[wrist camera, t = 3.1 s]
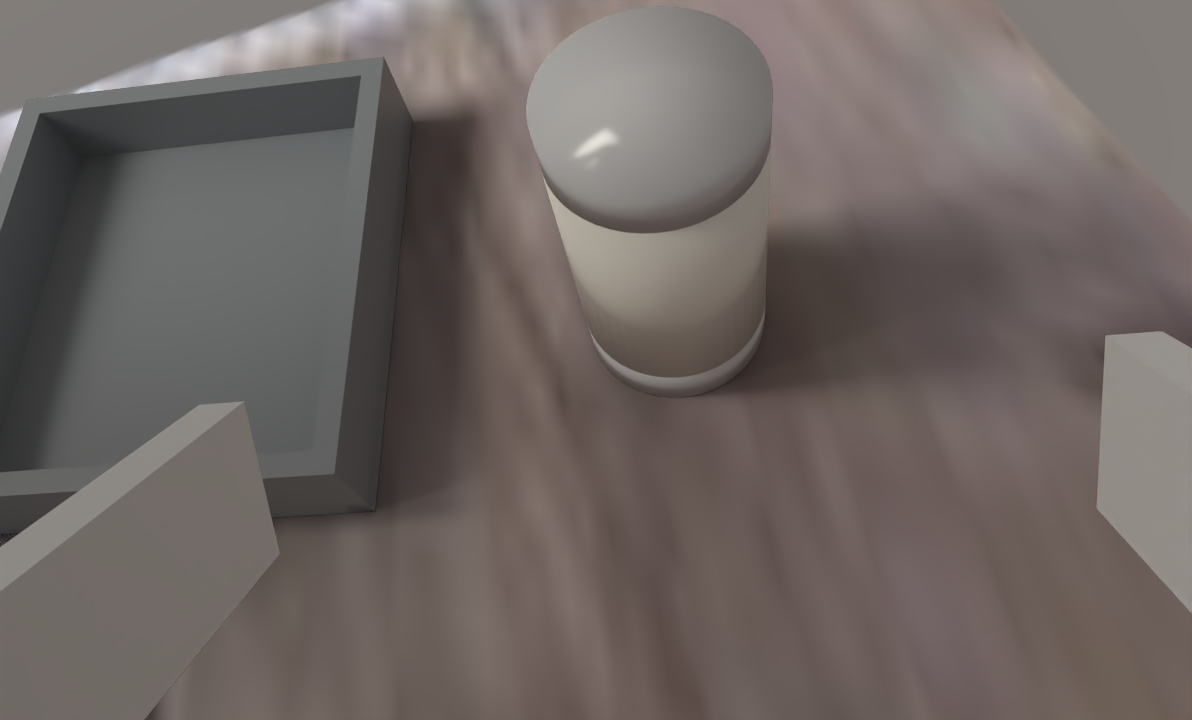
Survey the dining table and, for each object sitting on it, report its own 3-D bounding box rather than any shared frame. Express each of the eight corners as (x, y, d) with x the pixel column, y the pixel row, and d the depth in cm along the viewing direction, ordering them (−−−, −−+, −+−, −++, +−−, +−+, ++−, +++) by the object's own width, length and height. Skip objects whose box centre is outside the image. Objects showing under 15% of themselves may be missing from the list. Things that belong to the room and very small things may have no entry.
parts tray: (-33, 536, 33) (-114, 504, 30) (81, 157, 40) (26, 99, 37) (375, 511, 31) (334, 473, 28) (412, 120, 39) (383, 57, 35)
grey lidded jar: (591, 403, 32) (524, 208, 22) (589, 254, 34) (528, 21, 25) (773, 390, 31) (785, 182, 21) (755, 238, 34) (760, -7, 24)
